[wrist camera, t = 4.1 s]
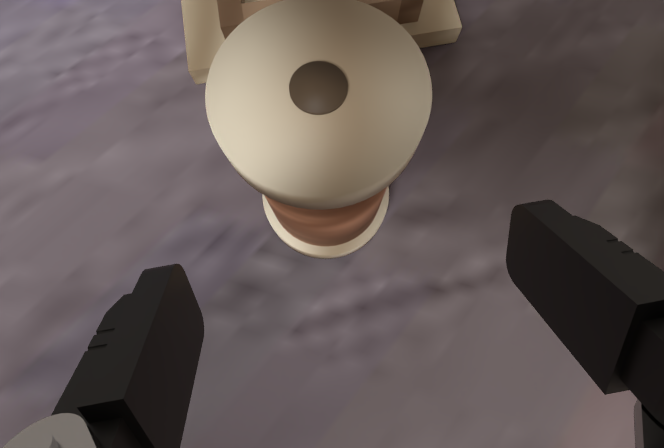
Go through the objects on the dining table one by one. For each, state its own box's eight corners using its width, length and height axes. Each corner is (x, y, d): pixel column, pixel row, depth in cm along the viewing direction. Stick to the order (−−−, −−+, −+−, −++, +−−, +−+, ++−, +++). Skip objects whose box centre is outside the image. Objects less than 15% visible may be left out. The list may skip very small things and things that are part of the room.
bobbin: (275, 268, 20) (217, 214, 10) (259, 155, 21) (193, 10, 11) (397, 247, 20) (459, 172, 10) (372, 136, 21) (404, -23, 12)
